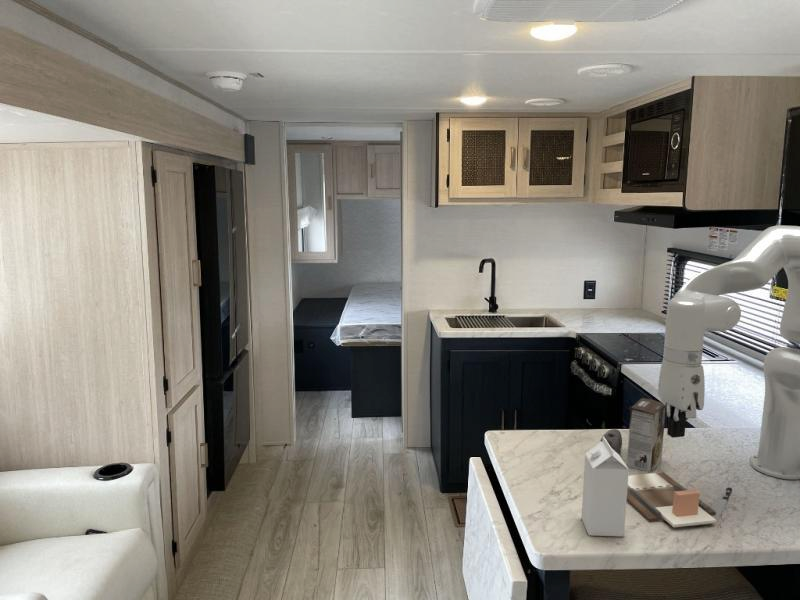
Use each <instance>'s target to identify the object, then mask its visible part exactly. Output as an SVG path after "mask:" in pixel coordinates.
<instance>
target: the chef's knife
mask: <svg viewBox="0 0 800 600" xmlns="http://www.w3.org/2000/svg"><path fill="white" fill-rule="evenodd" d="M732 492H733V489H732V487H727V488H725V494H724V495H723V497H721V498H717V497H716V498H714V497H713V498H712V501H711V506H710V508H712V509H713V510H714V511H716V515H712V517H713V518H714V519H716V523H717V522H718V521H719V519H720V517H721V515H722V513H723V511H724V509H725V507H726V505H727V503H728V500H729V498H730V495H731V494H732Z"/></svg>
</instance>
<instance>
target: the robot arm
mask: <svg viewBox="0 0 800 600" xmlns="http://www.w3.org/2000/svg"><path fill="white" fill-rule="evenodd" d="M782 269H783V270H784V271H785V274H786V278H787V282H788V287H787V291H786V292H787V293H786V297H785V302H784V306H783V311H782V315H781V319H780V325H779V334H780V336H781V337H782V338H783V339H784V340H786V341H788V342H791V343H795V344H798V345H800V226H798V225H782V224H781V225H774V226H769V227H767V228H766V229H764V230H762V232H760V234H759V235H758V236H757V237H755V239H753V240H752V242H750V244H749V245H747V246H746V247H745V248H744V249H743V250H742V251H741V252H740V253H739V254H738V255H737V256H736V257H735V258H734V259H732V260H730V261H727V262H724V263H721V264H719V265H716V266H714V267H711V268H709V269H706V270H704V271H701V272H699V273H697V274H695V275H694V276H693V277H691V278H690V279H689V280H687V281H686V282H685V283H684V284H683V285H682V286H681V287H680V288H679V289H678V291H677V292H676V293H675V294H674V295H673V297H672V298H671V299H670V300H669V301H668V303H667V307H666V315H665V316H666V317H665V330H664V343H663V354H662V355H663V357H662V361H661V364H660V365H661V366H660V371H659V378H658V385H657V386H658V387H657V394H658V397H659V398H660V402H662V403H663V404H664V405H665V406H666V415H667V417H668V420H667V431H666V435H668V436H670V437H671V438H672V439H673V438H683V437H685V433H686V424H687V421H688V420H689V419H696V418H697V411H703V409H704V406H705V372H704V366H703V365H702V363H703V362H702V360H703V350H704V341H705V340H704V339H705V332H720V333H721V332H727V331H730V330H731V329H733V328H734V327H736V326H737V325H738V323H739V321H740V320H741V317H742V310H741V306H740V305H739V304H738V302H737V301H735V300H733V299H732V298H729V297H726V296H722V295H728V294H735V293H745V292H751V291H755V290H758V289H761V288H763V287H765V286H766V285H767V284H768V283H769V282H770V281H771V280H772V279H773V278H774V277H775V276H776V275H777V274H778V273H779V272H780V270H782ZM763 377H764V388H765V389H764V399H763V400H764V401H763V410H762V417H761V426H760V433H759V441H758V442H759V444H758V450H757V454H754V455H752V456H751V457H750V459H749V464H750V466H751V467H752V468H754V470H756V471H758V472H760V473H762V474H763V475H764V474H765V475H767V476H770V477H773V478H778V479H784V480H793V481H794V480H800V349H798V348H794V347H789V346H788V347H787V346H786V347H785V346H782V347H781V346H778V347H775V348H772V349H771V350H770V351H768V353H766V355H765V357H764V359H763Z"/></svg>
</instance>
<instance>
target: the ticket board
mask: <svg viewBox="0 0 800 600" xmlns="http://www.w3.org/2000/svg"><path fill="white" fill-rule="evenodd" d="M685 490H687V488H685V487H684V486H683V485H681V484H680V483H679V482H677V481H676V480H675V479H673V478H672V477H671V476H669V475H668V474H667V473H666V472H653V473H652V472H651V473H650V472H649V473H642V474H630V475H629V474H628V488H627V501H626V503H628V504H629V505H630V507H632V508H633V509H634V510H635V511H636V512H638V513H639V514H640V515H641V516H642V517H643V518H644V519H645V520H646V521H648V523H656V522H664V521H665V522H667V521H666V520H665V519H664V518H662V517H661V512H660V511H659V510H657V509H656V507H665V506H673V498H674V492H675V491H685ZM699 507H700V508H702V509H703V510H704V511H705V512H707V513H708V514H709V515H711V516H712V515H716V511H714V510H713V509H712V508H711V506H710V505H708V504H706V502H704V501H703V500H701V498H699Z"/></svg>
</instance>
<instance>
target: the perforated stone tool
mask: <svg viewBox="0 0 800 600" xmlns="http://www.w3.org/2000/svg"><path fill="white" fill-rule="evenodd" d="M603 436H604V438H605V439H606V441H607V442H608V444H609V445H610V447H611V448H612V449H613V450H614V451H615V452H617V453H618V454H619V455H620V453H621V450H622V448H623V447H622V446H623V437H622V433H621V431H620V430H618V429H616V428H613V429H610V430H608V431H607V432H605V433H604V434H603ZM603 436H602V437H601V439H600V442H602V440H603Z"/></svg>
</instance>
